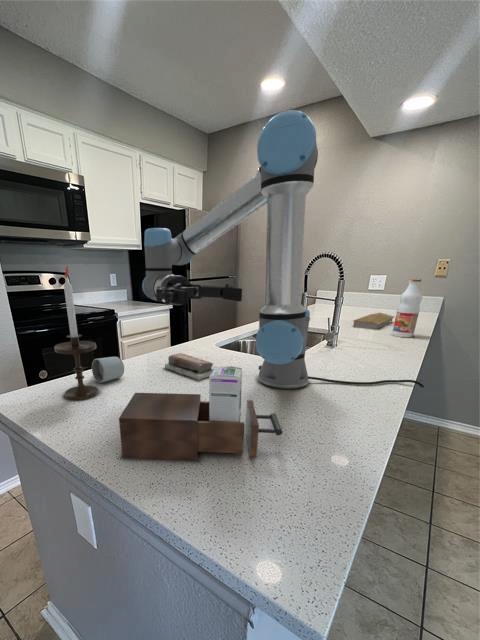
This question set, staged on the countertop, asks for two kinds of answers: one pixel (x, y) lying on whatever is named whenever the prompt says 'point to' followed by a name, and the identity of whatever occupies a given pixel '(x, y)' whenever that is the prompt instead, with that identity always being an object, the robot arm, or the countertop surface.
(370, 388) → the countertop surface
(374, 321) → the brown flat block
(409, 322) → the fruit juice
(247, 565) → the countertop surface
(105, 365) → the light blue cylinder
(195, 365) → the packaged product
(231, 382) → the syrup box
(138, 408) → the cabinet
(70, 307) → the candlestick
